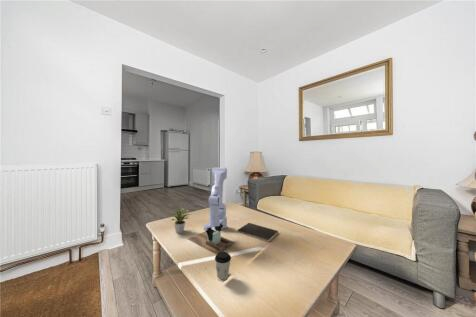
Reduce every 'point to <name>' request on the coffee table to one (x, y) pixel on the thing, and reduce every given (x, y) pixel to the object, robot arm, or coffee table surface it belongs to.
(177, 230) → the house plant
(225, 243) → the shelf
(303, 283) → the coffee table surface
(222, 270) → the coffee cup
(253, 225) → the hardcover book
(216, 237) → the sage block
